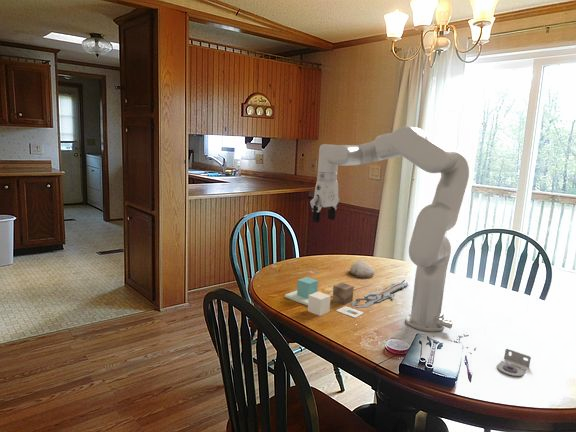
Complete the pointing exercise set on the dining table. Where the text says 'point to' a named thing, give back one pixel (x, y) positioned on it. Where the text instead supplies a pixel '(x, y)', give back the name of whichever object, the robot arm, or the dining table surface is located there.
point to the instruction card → (350, 311)
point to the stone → (362, 269)
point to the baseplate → (297, 298)
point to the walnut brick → (343, 293)
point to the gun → (379, 295)
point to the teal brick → (307, 287)
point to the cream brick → (319, 303)
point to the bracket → (514, 369)
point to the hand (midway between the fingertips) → (323, 220)
